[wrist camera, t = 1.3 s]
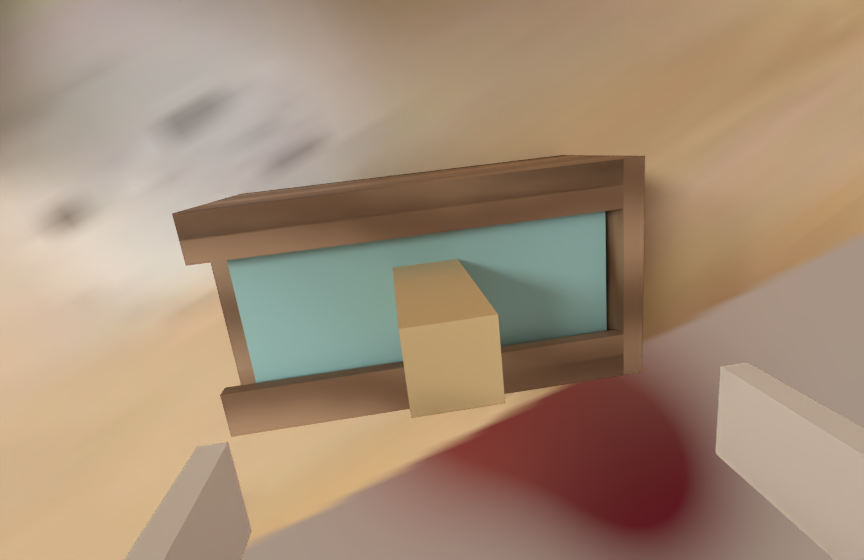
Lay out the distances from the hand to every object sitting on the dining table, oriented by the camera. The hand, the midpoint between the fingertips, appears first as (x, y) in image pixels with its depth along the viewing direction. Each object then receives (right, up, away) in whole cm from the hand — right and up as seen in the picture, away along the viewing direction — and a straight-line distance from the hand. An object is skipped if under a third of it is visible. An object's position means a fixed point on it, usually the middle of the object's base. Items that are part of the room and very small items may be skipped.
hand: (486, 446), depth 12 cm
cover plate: (-2, +4, +15) cm, 15 cm away
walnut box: (-3, +6, +22) cm, 23 cm away
